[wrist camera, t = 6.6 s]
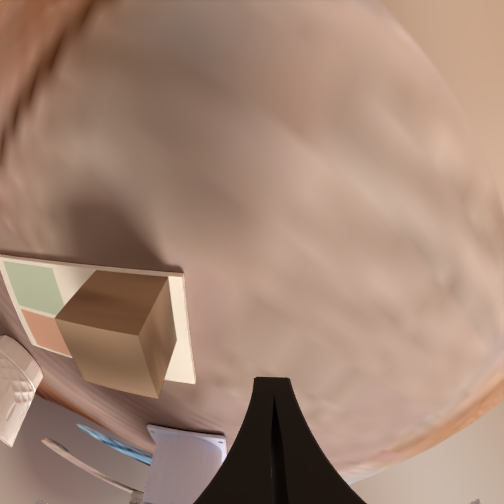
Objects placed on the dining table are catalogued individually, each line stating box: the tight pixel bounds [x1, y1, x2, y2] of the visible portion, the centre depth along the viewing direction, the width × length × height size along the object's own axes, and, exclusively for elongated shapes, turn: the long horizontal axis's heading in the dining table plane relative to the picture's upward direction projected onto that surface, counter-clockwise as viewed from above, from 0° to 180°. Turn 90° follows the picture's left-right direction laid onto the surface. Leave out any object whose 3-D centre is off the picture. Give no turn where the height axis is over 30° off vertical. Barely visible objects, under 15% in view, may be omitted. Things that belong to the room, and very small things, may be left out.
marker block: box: [54, 270, 177, 399], centre depth 13 cm, size 4×4×4 cm
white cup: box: [0, 335, 43, 447], centre depth 15 cm, size 8×8×10 cm
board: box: [0, 254, 196, 384], centre depth 16 cm, size 9×16×1 cm, turn 87°
